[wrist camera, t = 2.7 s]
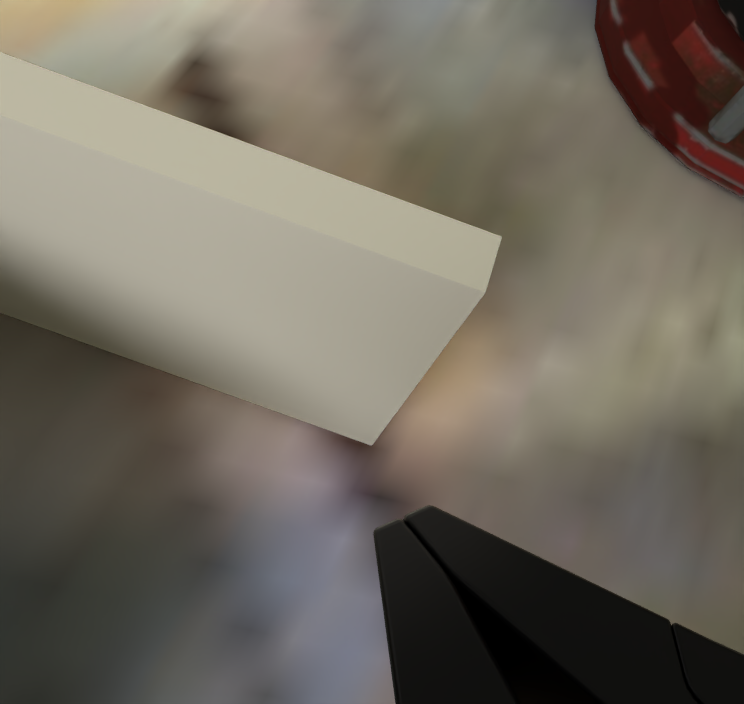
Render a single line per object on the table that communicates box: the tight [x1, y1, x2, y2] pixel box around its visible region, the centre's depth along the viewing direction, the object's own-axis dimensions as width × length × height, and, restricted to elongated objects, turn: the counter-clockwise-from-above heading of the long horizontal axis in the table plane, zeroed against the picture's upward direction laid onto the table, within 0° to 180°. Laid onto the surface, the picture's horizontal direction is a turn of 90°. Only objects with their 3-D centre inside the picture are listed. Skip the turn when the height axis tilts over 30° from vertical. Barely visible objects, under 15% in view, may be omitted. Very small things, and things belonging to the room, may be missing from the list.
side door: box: [0, 52, 502, 446], centre depth 16 cm, size 18×2×12 cm, turn 71°
